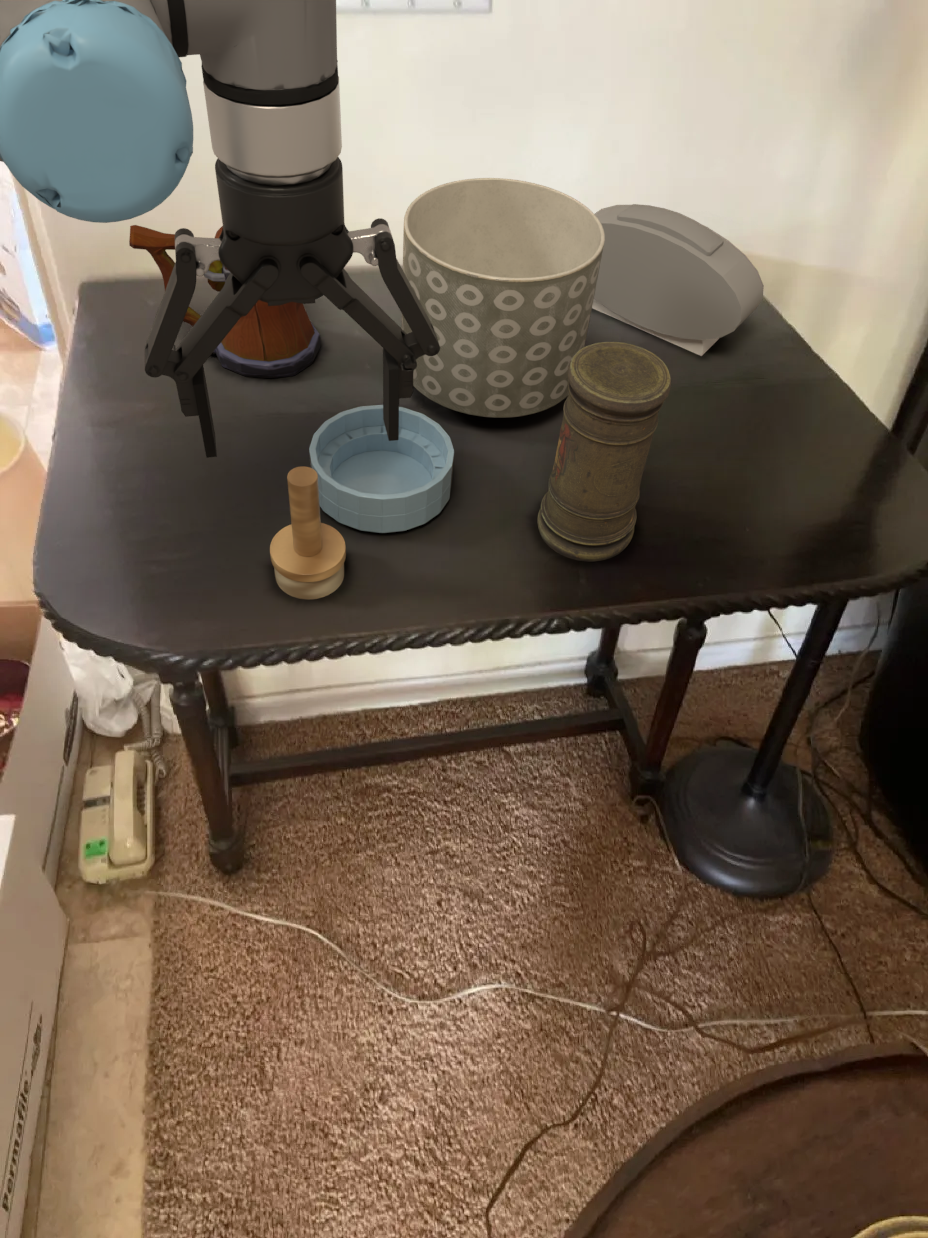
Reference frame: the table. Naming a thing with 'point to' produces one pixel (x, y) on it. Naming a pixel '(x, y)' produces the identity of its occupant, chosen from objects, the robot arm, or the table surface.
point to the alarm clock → (673, 277)
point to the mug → (245, 320)
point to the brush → (307, 543)
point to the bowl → (382, 469)
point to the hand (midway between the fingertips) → (302, 437)
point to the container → (602, 450)
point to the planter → (501, 292)
